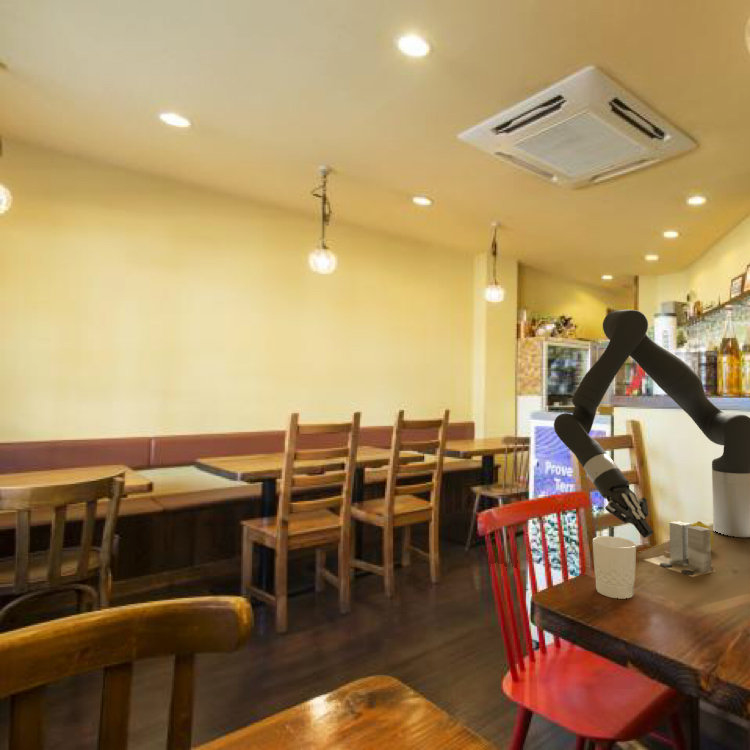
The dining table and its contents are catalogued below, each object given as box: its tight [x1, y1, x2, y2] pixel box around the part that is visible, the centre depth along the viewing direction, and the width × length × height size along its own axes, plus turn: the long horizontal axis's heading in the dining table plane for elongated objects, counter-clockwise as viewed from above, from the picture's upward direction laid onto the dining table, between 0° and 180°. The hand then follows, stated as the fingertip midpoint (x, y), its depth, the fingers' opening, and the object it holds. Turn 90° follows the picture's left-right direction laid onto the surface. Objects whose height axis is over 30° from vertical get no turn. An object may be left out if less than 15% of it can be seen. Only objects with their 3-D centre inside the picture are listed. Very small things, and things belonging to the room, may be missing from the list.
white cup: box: [592, 535, 637, 600], centre depth 103 cm, size 8×8×10 cm
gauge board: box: [643, 526, 716, 578], centre depth 114 cm, size 8×12×10 cm, turn 24°
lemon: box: [691, 521, 714, 549], centre depth 125 cm, size 6×6×8 cm
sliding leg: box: [669, 520, 692, 567], centre depth 115 cm, size 5×3×9 cm, turn 114°
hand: (648, 535), depth 122 cm, fingers closed
